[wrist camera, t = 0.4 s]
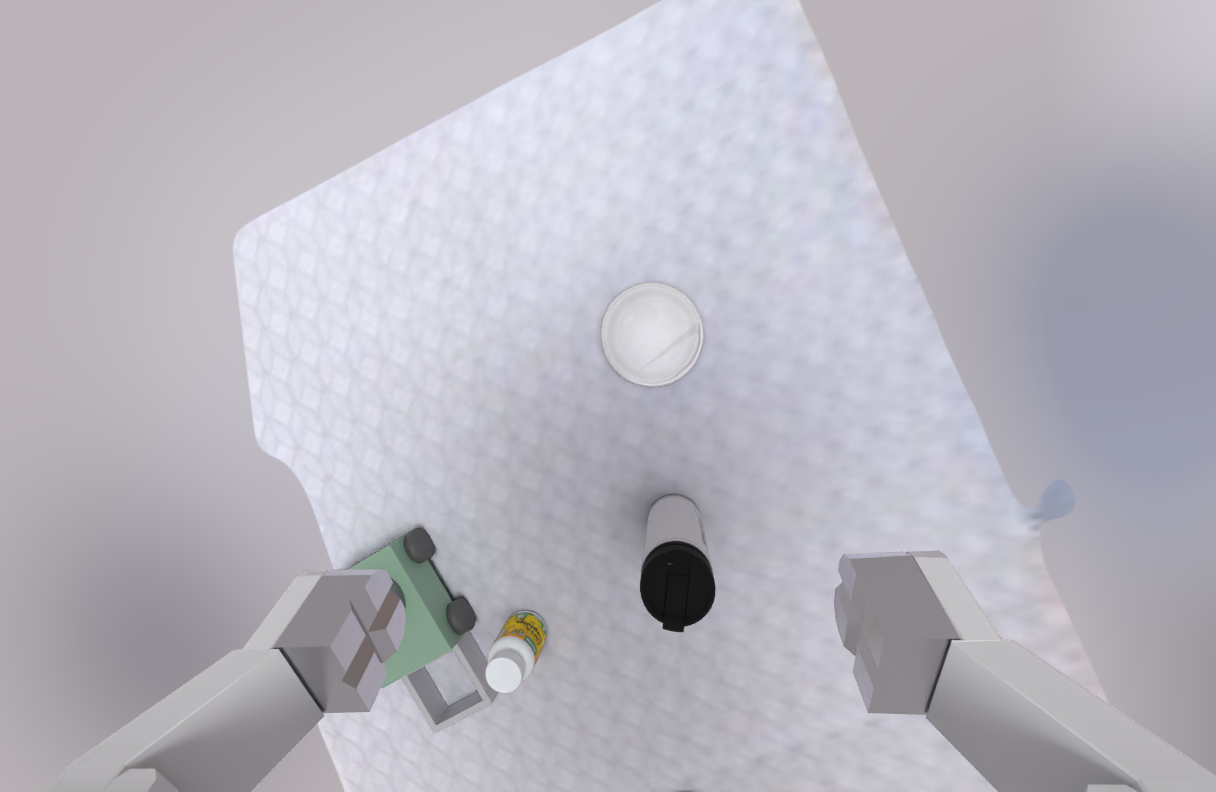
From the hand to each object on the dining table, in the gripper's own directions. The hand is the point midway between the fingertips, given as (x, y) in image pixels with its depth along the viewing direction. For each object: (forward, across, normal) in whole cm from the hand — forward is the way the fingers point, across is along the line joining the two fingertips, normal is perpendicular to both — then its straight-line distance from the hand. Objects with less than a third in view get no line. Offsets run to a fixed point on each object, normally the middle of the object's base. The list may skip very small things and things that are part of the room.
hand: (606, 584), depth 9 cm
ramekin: (+50, 0, -17) cm, 53 cm away
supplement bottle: (+34, -18, -48) cm, 62 cm away
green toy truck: (+35, -31, -47) cm, 66 cm away
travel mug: (+40, +1, -37) cm, 54 cm away
